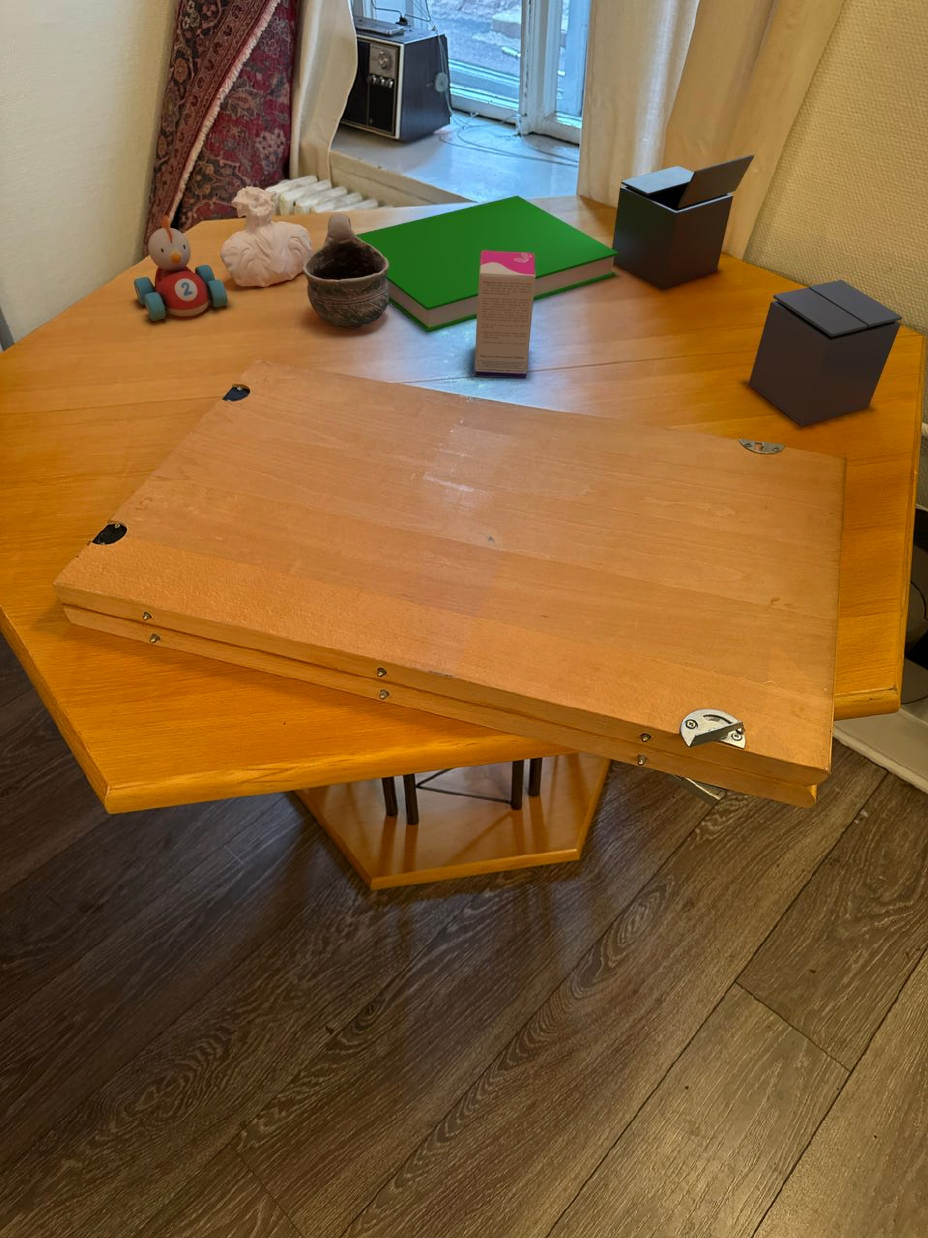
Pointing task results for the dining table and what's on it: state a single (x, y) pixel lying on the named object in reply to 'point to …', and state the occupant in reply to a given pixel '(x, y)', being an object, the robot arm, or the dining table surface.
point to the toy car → (177, 278)
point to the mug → (346, 277)
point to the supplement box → (504, 313)
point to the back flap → (715, 181)
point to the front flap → (856, 303)
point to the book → (450, 257)
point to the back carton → (668, 229)
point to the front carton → (818, 358)
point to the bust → (264, 243)
